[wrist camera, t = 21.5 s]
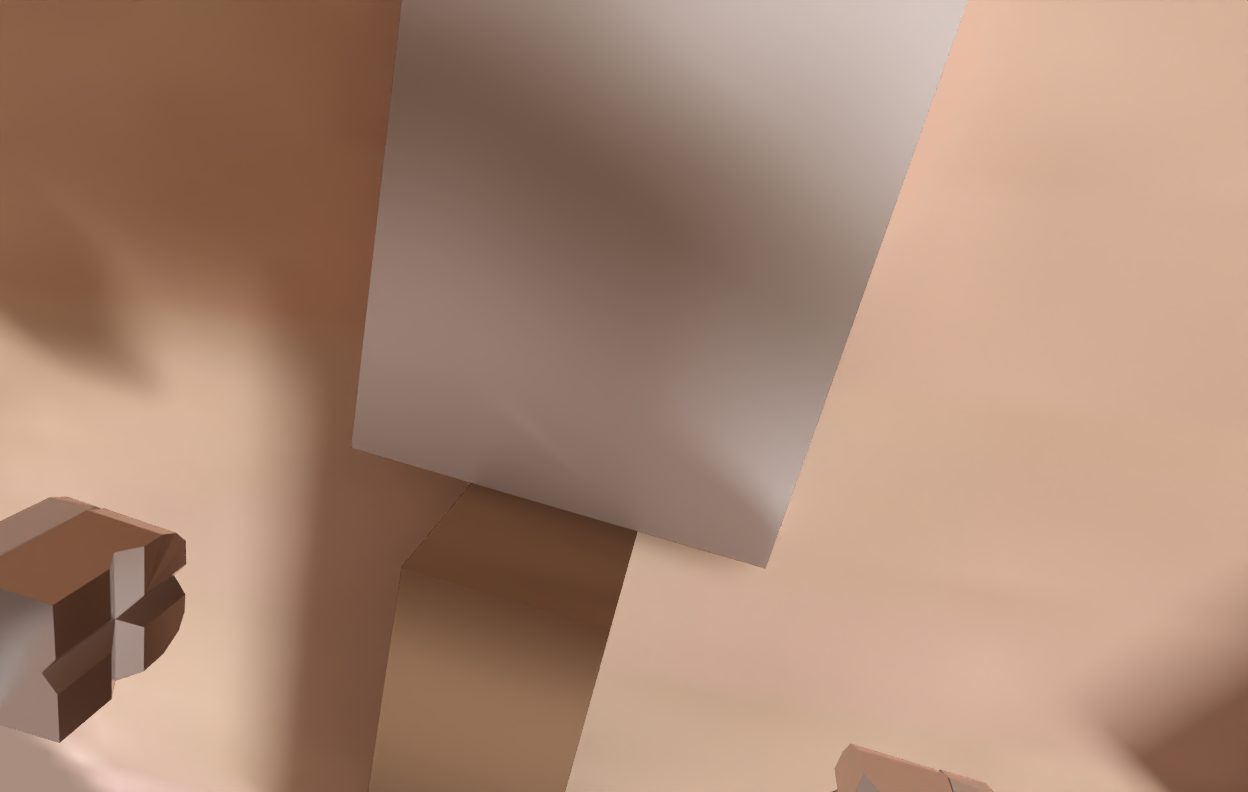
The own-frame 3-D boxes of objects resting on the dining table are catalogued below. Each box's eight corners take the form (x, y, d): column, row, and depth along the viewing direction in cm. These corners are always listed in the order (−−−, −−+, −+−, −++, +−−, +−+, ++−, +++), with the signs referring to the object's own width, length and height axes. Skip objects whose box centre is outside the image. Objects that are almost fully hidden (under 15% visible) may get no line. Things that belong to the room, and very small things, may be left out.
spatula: (612, 965, 14) (577, 1184, 11) (327, 869, 14) (218, 1056, 11) (976, -81, 8) (1122, -230, 5) (463, -196, 8) (306, -397, 5)
